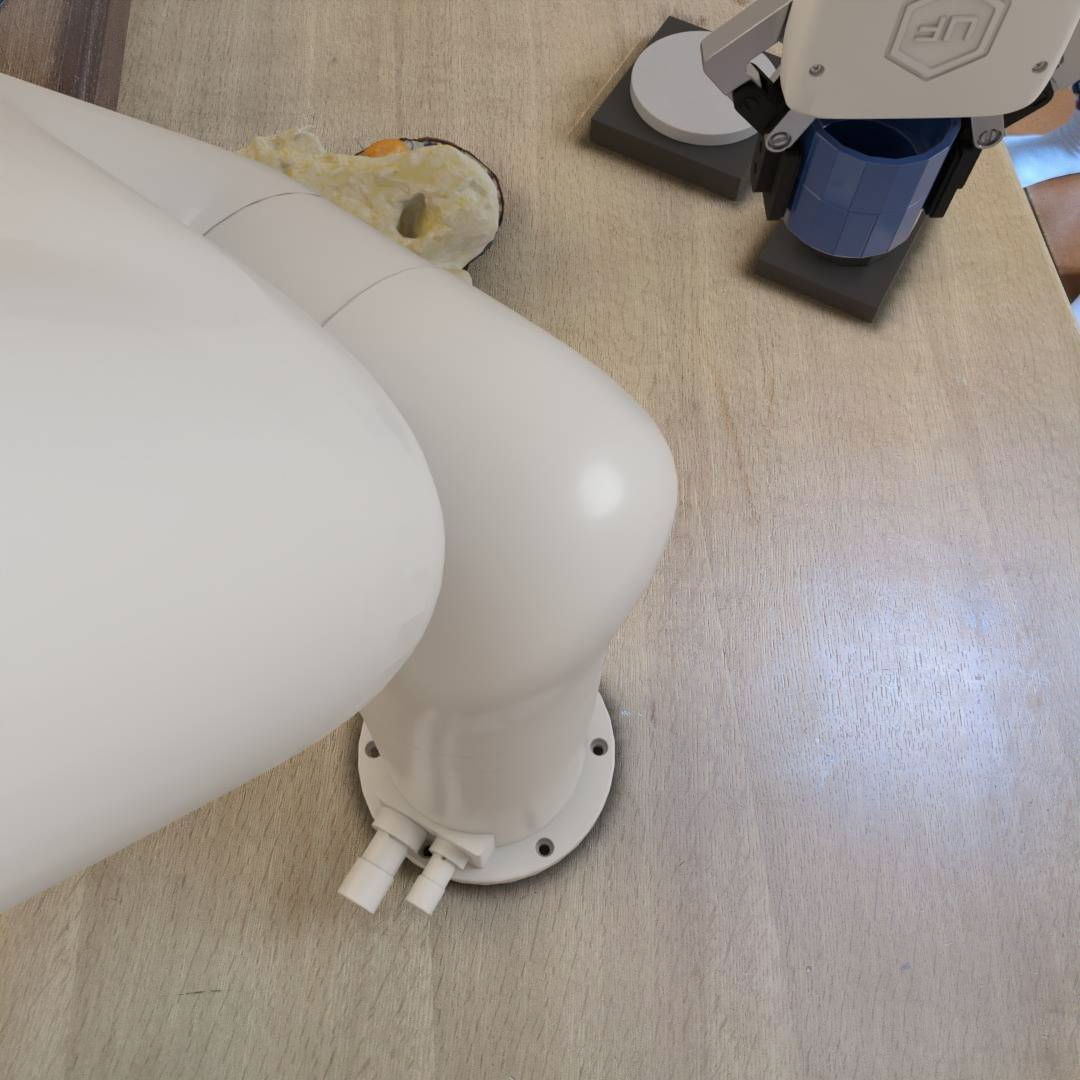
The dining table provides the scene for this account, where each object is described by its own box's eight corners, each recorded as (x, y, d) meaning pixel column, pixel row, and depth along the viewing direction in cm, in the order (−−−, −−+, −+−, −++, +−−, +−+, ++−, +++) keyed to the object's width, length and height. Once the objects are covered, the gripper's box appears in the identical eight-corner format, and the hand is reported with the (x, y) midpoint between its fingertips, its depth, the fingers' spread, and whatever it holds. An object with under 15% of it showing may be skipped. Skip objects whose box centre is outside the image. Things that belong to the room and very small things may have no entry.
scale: (735, 202, 68) (744, 167, 66) (588, 142, 71) (591, 106, 68) (805, 92, 73) (815, 56, 70) (665, 39, 75) (671, 2, 73)
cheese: (546, 301, 67) (455, 67, 63) (541, 312, 60) (438, 49, 56) (335, 387, 69) (234, 166, 65) (306, 407, 62) (192, 161, 58)
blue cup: (881, 286, 46) (927, 187, 41) (752, 230, 48) (779, 127, 42) (933, 193, 49) (983, 88, 43) (808, 142, 50) (842, 34, 45)
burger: (491, 304, 64) (488, 216, 57) (304, 285, 64) (279, 196, 58) (515, 164, 69) (515, 68, 63) (342, 147, 70) (323, 51, 63)
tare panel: (871, 324, 64) (886, 292, 61) (753, 273, 66) (763, 240, 63) (925, 218, 68) (942, 184, 65) (813, 173, 70) (824, 138, 67)
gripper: (738, -159, 29) (666, 264, 46) (1339, -166, 30) (1056, 257, 46) (712, -303, 33) (654, 139, 49) (1254, -309, 33) (1017, 133, 49)
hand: (849, 193), depth 47 cm, fingers closed on blue cup, 6 cm apart
